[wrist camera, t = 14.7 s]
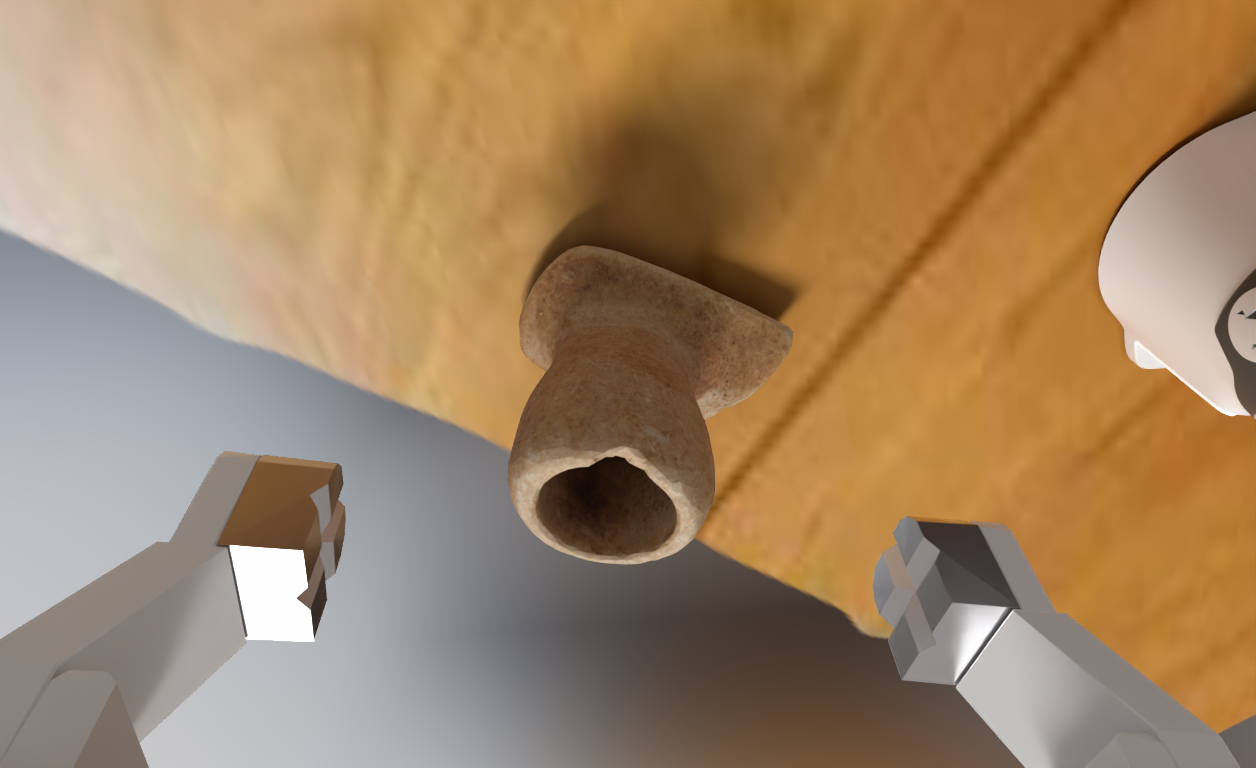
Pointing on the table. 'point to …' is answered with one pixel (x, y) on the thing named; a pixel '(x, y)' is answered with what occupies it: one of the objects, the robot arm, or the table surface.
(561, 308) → the stone cup
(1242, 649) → the table surface
